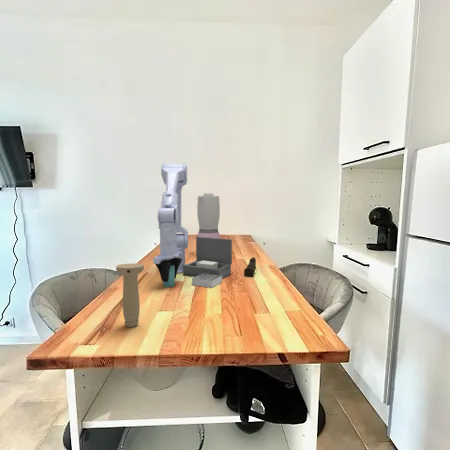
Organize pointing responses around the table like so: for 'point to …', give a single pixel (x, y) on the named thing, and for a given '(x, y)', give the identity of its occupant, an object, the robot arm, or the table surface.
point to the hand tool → (250, 268)
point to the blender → (208, 215)
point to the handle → (130, 292)
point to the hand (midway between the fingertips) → (168, 280)
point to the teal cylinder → (170, 277)
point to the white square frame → (207, 280)
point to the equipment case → (211, 257)
